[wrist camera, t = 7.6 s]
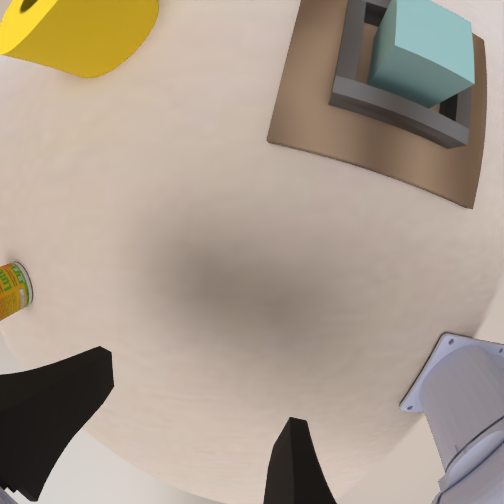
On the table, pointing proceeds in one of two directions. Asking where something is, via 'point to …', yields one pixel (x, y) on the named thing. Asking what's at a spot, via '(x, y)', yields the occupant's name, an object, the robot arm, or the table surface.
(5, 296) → the supplement bottle
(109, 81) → the table surface
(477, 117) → the socket board
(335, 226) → the table surface
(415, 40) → the peg
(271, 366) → the table surface
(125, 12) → the tape roll
